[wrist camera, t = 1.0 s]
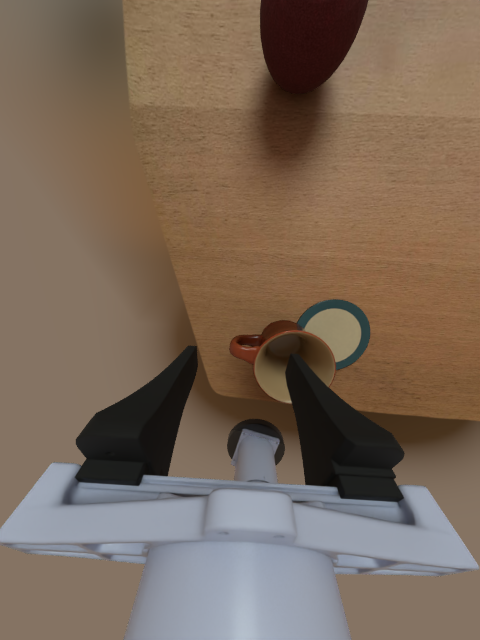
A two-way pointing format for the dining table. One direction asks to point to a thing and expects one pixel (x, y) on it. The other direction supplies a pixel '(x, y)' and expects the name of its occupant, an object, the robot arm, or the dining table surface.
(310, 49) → the decorative ball
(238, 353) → the mug
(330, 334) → the plate
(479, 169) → the dining table surface
